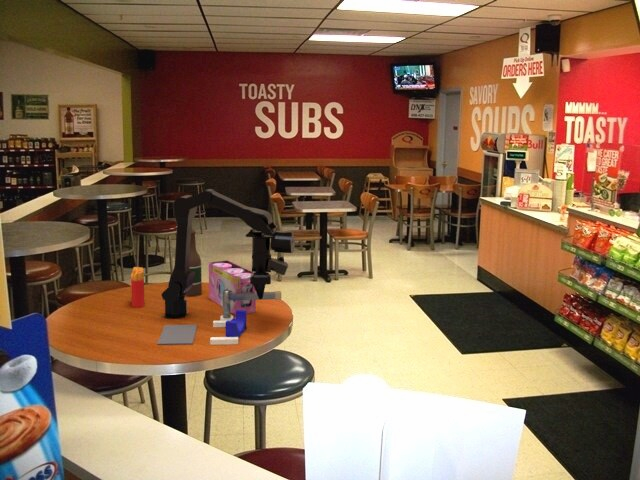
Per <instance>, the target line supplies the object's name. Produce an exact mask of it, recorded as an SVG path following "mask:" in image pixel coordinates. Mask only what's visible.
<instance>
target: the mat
mask: <svg viewBox="0 0 640 480" xmlns="http://www.w3.org/2000/svg"><path fill="white" fill-rule="evenodd" d="M197 328H198V324H164V326H163V329H162V331H161V334H160V336H159V338H158V341H157V344H156V345H157V346H170V345H171V346H173V345H174V346H177V345H178V346H179V345H183V346H186V345H193V344H194V342H195V336H196V332H197Z"/></svg>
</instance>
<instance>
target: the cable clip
mask: <svg viewBox="0 0 640 480" xmlns="http://www.w3.org/2000/svg"><path fill="white" fill-rule="evenodd" d="M247 314H248V313H247V311H246V310H237V311H236V315H235V318H233V319H232V320H231V321H226V327H225V337H238V339H239V338H240V337H241V336H242V334H244V332H245V331H246V330H247Z"/></svg>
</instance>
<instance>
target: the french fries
mask: <svg viewBox="0 0 640 480" xmlns="http://www.w3.org/2000/svg"><path fill="white" fill-rule="evenodd" d="M144 272H145V271H144V267H142V266H141V267H140V266H134V267H133V268H132V271H131V274H130V285H131V286H130V287H131V288H130V291H131V306H132V308H143V307H145V276H144Z"/></svg>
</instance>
